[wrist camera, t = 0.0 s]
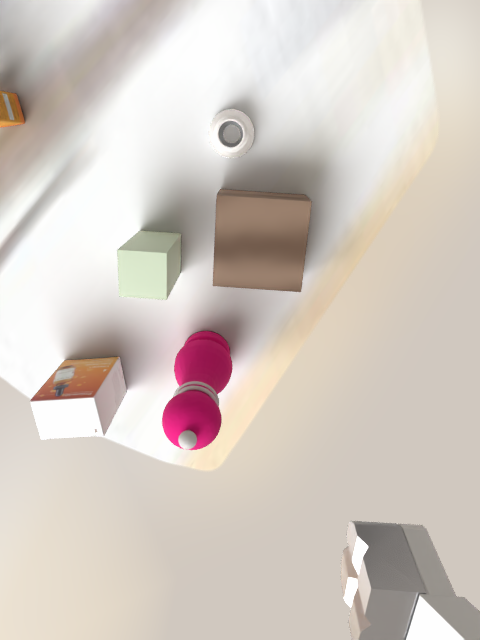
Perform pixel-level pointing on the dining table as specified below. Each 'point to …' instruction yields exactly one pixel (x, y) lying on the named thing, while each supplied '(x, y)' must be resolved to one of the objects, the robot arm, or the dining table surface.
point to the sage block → (149, 265)
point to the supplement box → (10, 110)
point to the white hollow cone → (231, 133)
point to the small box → (79, 398)
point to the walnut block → (260, 240)
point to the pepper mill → (198, 391)
